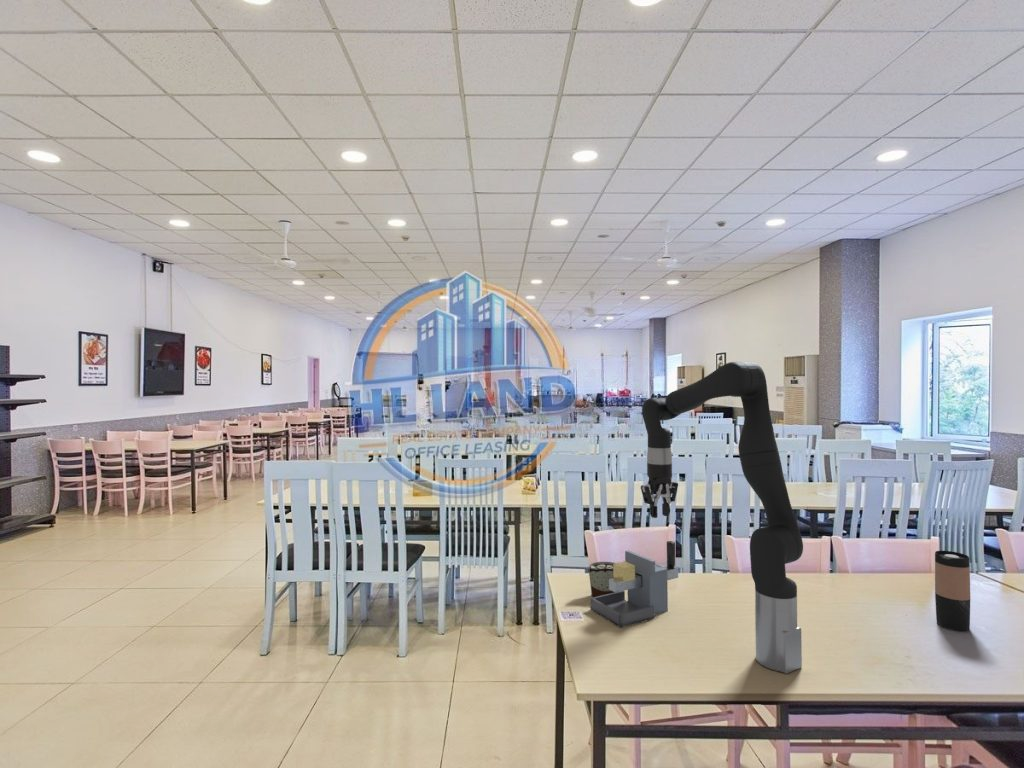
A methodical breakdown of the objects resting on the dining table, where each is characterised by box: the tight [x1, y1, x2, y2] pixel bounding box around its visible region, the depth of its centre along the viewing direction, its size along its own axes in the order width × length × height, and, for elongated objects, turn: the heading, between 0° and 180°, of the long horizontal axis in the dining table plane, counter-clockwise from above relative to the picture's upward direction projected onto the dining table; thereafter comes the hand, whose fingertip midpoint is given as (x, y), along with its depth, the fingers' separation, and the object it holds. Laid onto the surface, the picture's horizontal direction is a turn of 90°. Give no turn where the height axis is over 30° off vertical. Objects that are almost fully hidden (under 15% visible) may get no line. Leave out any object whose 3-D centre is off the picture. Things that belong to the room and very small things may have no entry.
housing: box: [624, 550, 669, 615], centre depth 162 cm, size 12×7×16 cm, turn 28°
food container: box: [586, 561, 616, 598], centre depth 172 cm, size 12×6×10 cm, turn 84°
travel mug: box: [934, 550, 971, 633], centre depth 148 cm, size 8×8×20 cm
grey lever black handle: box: [609, 540, 679, 593], centre depth 162 cm, size 3×25×11 cm, turn 118°
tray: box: [590, 590, 655, 629], centre depth 157 cm, size 14×13×4 cm
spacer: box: [613, 560, 635, 582], centre depth 158 cm, size 4×4×4 cm
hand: (659, 516), depth 165 cm, fingers open, 4 cm apart
